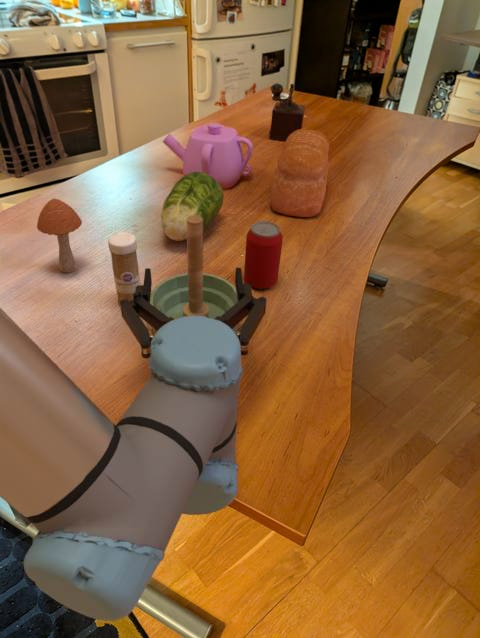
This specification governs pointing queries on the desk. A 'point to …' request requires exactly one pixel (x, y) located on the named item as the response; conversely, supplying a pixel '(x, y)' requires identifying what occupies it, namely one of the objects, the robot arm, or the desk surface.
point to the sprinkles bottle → (124, 264)
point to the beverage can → (262, 255)
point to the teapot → (213, 153)
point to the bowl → (175, 296)
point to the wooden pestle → (195, 268)
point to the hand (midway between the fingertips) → (193, 275)
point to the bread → (301, 174)
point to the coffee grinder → (285, 114)
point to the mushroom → (60, 229)
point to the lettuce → (191, 203)
